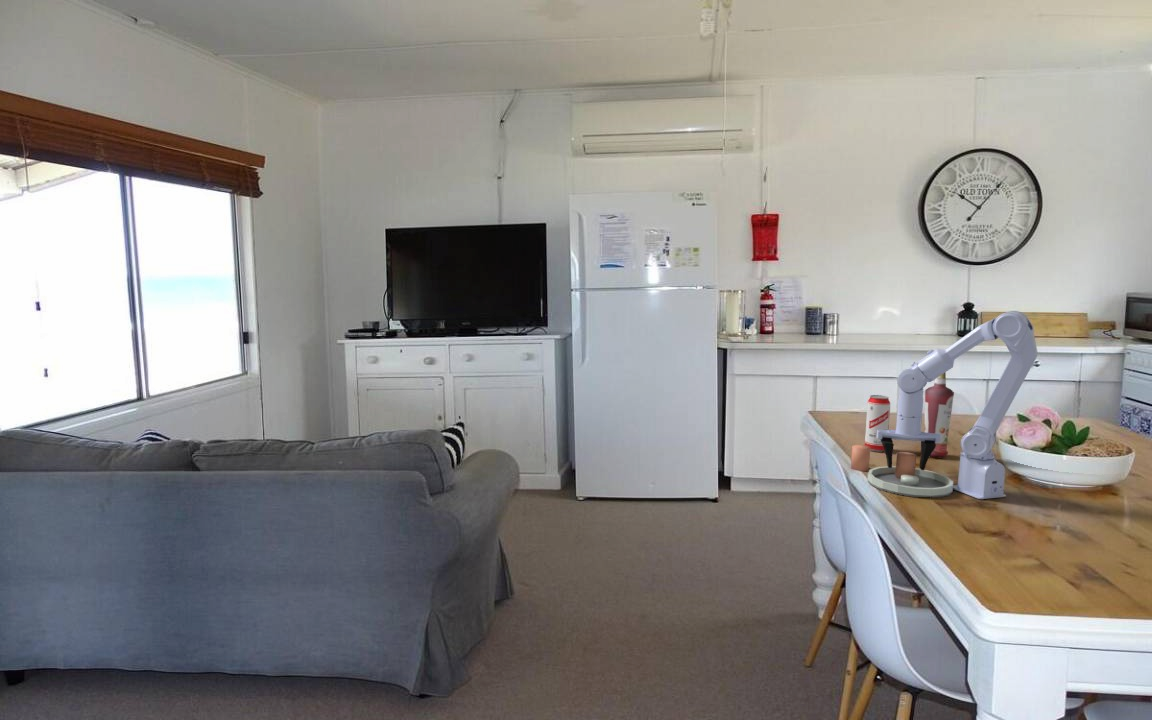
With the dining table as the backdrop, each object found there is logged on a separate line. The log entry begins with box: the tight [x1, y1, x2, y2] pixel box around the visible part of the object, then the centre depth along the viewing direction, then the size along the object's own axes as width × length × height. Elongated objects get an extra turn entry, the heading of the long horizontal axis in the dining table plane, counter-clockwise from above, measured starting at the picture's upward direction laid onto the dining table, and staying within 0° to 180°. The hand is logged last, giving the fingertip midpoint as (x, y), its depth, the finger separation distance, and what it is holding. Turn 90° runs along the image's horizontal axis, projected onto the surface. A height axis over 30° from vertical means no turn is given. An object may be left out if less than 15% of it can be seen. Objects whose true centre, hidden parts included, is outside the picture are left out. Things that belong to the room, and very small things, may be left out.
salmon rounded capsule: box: [895, 451, 917, 479], centre depth 183 cm, size 4×4×6 cm
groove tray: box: [867, 465, 954, 499], centre depth 178 cm, size 19×19×2 cm
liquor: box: [923, 372, 955, 459], centre depth 205 cm, size 7×7×28 cm
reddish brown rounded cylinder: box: [850, 444, 871, 472], centre depth 192 cm, size 4×4×6 cm
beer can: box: [864, 394, 891, 453], centre depth 212 cm, size 6×6×16 cm
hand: (905, 468), depth 183 cm, fingers open, 7 cm apart
